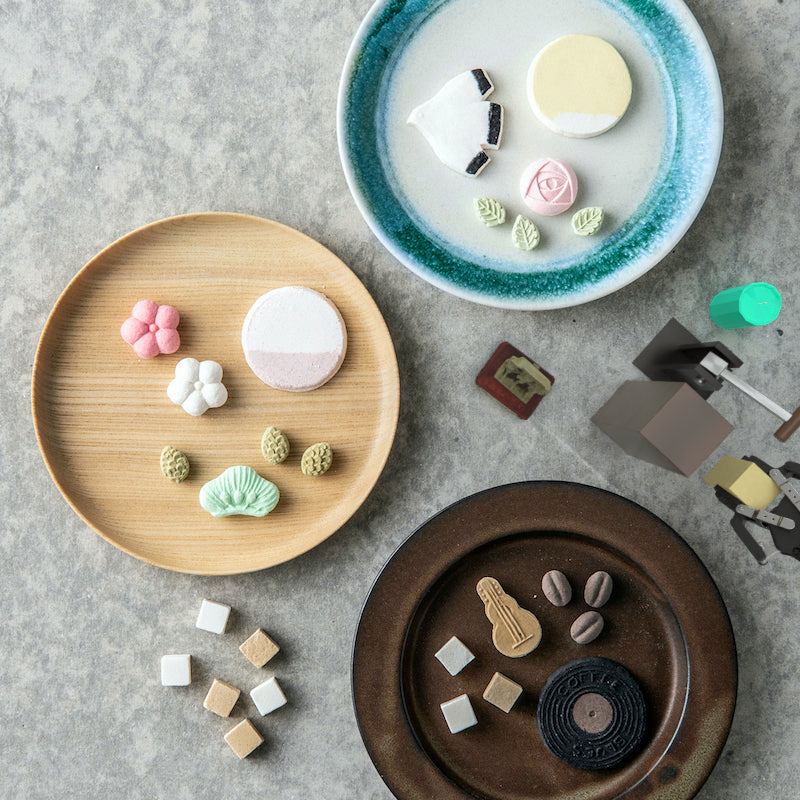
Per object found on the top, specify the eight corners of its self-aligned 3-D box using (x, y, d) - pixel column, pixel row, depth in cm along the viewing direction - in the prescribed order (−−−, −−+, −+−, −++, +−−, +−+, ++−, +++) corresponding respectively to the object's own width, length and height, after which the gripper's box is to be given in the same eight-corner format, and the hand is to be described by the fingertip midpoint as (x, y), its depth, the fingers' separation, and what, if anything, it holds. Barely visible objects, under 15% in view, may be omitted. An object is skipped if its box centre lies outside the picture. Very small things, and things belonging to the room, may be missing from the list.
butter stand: (663, 415, 108) (735, 428, 84) (626, 454, 108) (688, 478, 84) (624, 379, 108) (685, 382, 84) (588, 418, 108) (638, 432, 84)
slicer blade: (812, 412, 91) (816, 408, 89) (783, 444, 92) (786, 441, 89) (717, 347, 97) (718, 341, 95) (690, 377, 97) (690, 372, 95)
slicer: (729, 370, 108) (776, 370, 94) (688, 415, 108) (729, 421, 94) (670, 317, 107) (708, 309, 94) (629, 362, 108) (661, 361, 94)
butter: (752, 480, 96) (783, 489, 88) (729, 504, 96) (758, 515, 88) (725, 454, 96) (753, 462, 88) (702, 478, 96) (728, 488, 88)
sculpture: (470, 383, 108) (479, 385, 93) (501, 340, 108) (516, 334, 93) (522, 421, 108) (540, 429, 93) (554, 377, 108) (577, 379, 93)
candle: (702, 326, 107) (739, 320, 95) (710, 286, 107) (748, 276, 95) (742, 333, 107) (783, 328, 95) (749, 294, 107) (792, 284, 95)
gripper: (901, 503, 77) (763, 420, 89) (808, 600, 77) (684, 504, 89) (903, 526, 82) (773, 444, 94) (816, 616, 83) (698, 524, 95)
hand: (730, 474), depth 92 cm, fingers closed on butter, 4 cm apart
